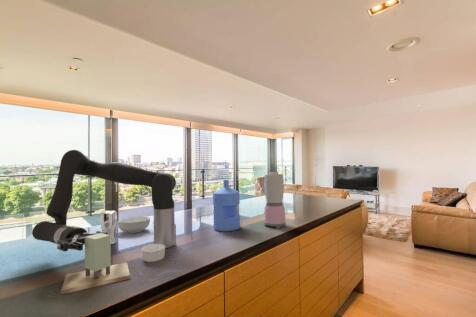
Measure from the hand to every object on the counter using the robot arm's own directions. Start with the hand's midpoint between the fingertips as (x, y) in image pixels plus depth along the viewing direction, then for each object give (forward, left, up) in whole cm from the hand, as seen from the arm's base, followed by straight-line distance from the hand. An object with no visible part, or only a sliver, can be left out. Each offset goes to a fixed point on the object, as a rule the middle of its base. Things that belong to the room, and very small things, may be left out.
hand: (95, 243), depth 78 cm
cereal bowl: (-18, -55, -11) cm, 59 cm away
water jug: (-65, -31, -11) cm, 73 cm away
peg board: (-1, +1, -11) cm, 11 cm away
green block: (-1, +1, -7) cm, 8 cm away
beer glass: (-5, -39, -11) cm, 41 cm away
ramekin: (-20, -7, -11) cm, 24 cm away
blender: (-91, -21, -11) cm, 94 cm away
